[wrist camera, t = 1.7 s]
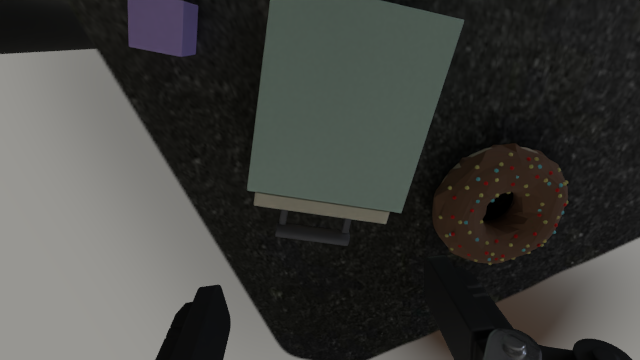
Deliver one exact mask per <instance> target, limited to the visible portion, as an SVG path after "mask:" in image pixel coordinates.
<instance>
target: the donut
mask: <svg viewBox="0 0 640 360" xmlns="http://www.w3.org/2000/svg"><path fill="white" fill-rule="evenodd" d="M566 184H568V181H567V180H565V179H564V177H563V175H562V172H561V169H560V168H559V166H558V164H557V163H555V162H553V161H551V160H550V159H548V158H547V157H546V156H545V155H544V154H543V153H542V152H541V151H539V150H531V149H529V148H526V147H520V146H518V145H517V144H516V143H512V144H504V145H492V146H491V147H490V148H486V149H483V150H481V151H479V152H476V153H474V154H471V155H470V156H468V157H464V158H461V160H460V162H459V163H458V164H457V165H456V166H455V167H454V168H453V169H451V170H450V171H449V172H448V174H447V175H446V177H445V178H444V180H443V181H442V183H441V184H440V185H439V187H438V188H437V189H436V191H435V194H434V198H433V209H432V218H433V225H434V228H435V231H436V232H437V234H438V235H439V237H440V238H441V239H442V241H443V242H444V243H445V244H446V245H447V246H448V249H449V251H450V252H451V253H453V254H455V255H458V256H460V257H463V258H465V259H469V260H472V261H475V262H479V263H488V264H489V265H491V264H492V263H501V262H504V261H507V260H510V259H513V260H514V259H515V257H518V256H521V255H525V254H526V253H527V254H530V253H531V252H530V251H532V250H534V249H536V248H537V247H540V246H543V245H544V244H543V243H545V242H546V241H547V240H548V239H549V238H550V236H551V235H552V234H555V233H556V231H555V229H556V227H557V226H558V222H559V220H560V218H561V216H562V214H564V211H563V210H564V207H565V206H567V204H568V201H567V199H568V189H567V185H566ZM511 192H512V193H513V200H512V204H511V206H510V207H509V208H508V209H507V210H506V212H505V213H504V214H503V215H501V216H500V217H498V218H496V219H492V220H487V221H483V218H484V216H485V215H486V209H487V205H488V204H489V203H490V202H494V201H495V200H494V199H495V198H496V197H498V196H499V195H500V194H503V193H507V194H510V193H511Z"/></svg>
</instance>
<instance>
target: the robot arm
mask: <svg viewBox="0 0 640 360" xmlns="http://www.w3.org/2000/svg"><path fill="white" fill-rule="evenodd" d="M424 293H425V298H426V301H427V304H428V306H429V308H430V310H431V312H432V314H433V317H434V319H435V321H436V323H437V325H438V327H439V329H440V331H441V333H442V335H443V337H444V339H445V341H446V343H447V346H448V348H449V350H450V352H451V354H452V356H453V357H454V360H632V359H631V358H630V357H629V356H628V355H627V354H626V353H625V352H623V351H622V350H620V349H619V348H617V347H615V346H614V345H612V344H609V343H607V342H604V341H601V340H596V339H582V340H579V341H577V342H576V343H575V344H574V347H573V350H566V349H559V348H552V347H546V346H542V345H538V344H537V343H536V342H535V341H534V340H533V339H532V338H531V337H530V336H528V335H527V334H525V333H523V332H521V331H519V330H516V329H513V327H512V326H511V325H510V323H509V322H508V321H507V319H506V318H505V316H504V315H503V314H502V312H501V311H500V310H499V308H498V307H497V306H496V304H495V303H494V302H493V300H492V299H491V297H490V296H488V294H487V292H486V291H485V289H484V288H483V287H482V286H481V284H480V283H479V281H478V280H477V279H476V277H475V276H474V275H473V274H472V273H470V272H469V271H468V270H466V269H465V268H463V267H462V266H461V267H453V265H452V264H451V262H450V261H449V259H448V258H447V256H445V255H441V256H433V257H426V258H425V260H424ZM229 332H230V314H229V311H228V307H227V304H226V301H225V297H224V294H223V291H222V288H221V286H220V285H213V286H206V287H200V288H199V289H198V291H197V293H196V295H195V298H194V300H193V302H189V303H185V305H184V306H183V307H182V308H181V309H180V310H179V311H178V312H177V313H176V315H175V317H174V320H173V322H172V324H171V328H170V329H169V331H168V333H167V335H166V339H165V340H164V342H163V344H162V346H161V348H160V351H159V353H158V355H157V358H156V360H223V358H224V353H225V349H226V345H227V341H228V337H229Z"/></svg>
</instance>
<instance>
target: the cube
mask: <svg viewBox="0 0 640 360" xmlns="http://www.w3.org/2000/svg"><path fill="white" fill-rule="evenodd" d="M197 20H198V6H197V5H194V4H191V3H188V2H185V1H181V0H128V35H129V47H133V48H138V49H144V50H149V51H154V52H159V53H164V54H169V55H174V56H179V57H184V56H190V55H196V41H197Z"/></svg>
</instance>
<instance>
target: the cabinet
mask: <svg viewBox="0 0 640 360" xmlns="http://www.w3.org/2000/svg"><path fill="white" fill-rule="evenodd" d="M463 23H464V20H462V19H457V18H453V17H449V16H445V15H440V14H436V13H432V12H428V11H423V10H419V9H415V8H411V7H406V6H402V5H398V4H394V3H389V2H385V1H381V0H270V5H269V13H268V21H267V29H266V38H265V46H264V54H263V62H262V71H261V79H260V87H259V95H258V103H257V112H256V120H255V128H254V136H253V144H252V153H251V161H250V169H249V177H248V185H247V190H248V191H255V192H261V193H268V194H275V195H282V196H289V197H295V198H302V199H309V200H316V201H323V202H329V203H336V204H343V205H350V206H357V207H363V208H370V209H377V210H384V211H391V212H397V213H401V212H402V209H403V206H404V203H405V200H406V197H407V194H408V191H409V188H410V185H411V182H412V179H413V176H414V172H415V169H416V166H417V163H418V160H419V157H420V154H421V151H422V148H423V145H424V142H425V139H426V136H427V133H428V130H429V127H430V124H431V121H432V117H433V114H434V111H435V108H436V105H437V102H438V99H439V96H440V93H441V90H442V87H443V84H444V81H445V78H446V75H447V72H448V69H449V66H450V62H451V59H452V56H453V53H454V50H455V47H456V44H457V41H458V38H459V35H460V32H461V29H462V26H463Z"/></svg>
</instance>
